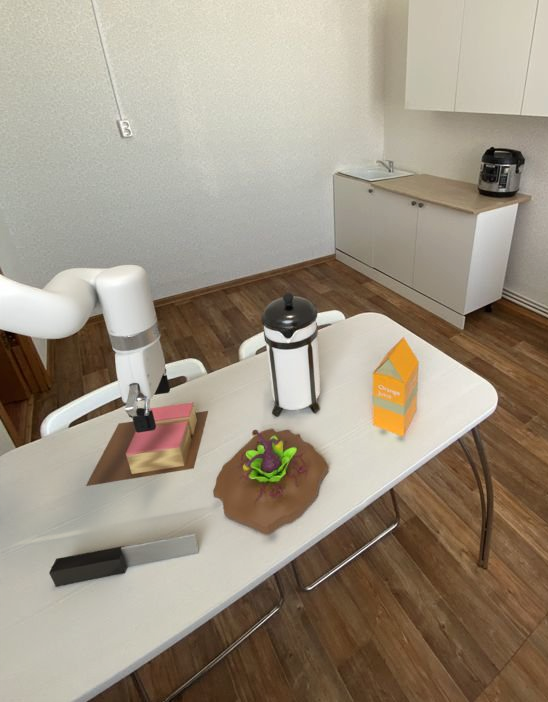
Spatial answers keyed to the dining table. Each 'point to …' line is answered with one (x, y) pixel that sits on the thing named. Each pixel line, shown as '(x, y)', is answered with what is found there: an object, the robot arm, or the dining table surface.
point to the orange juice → (395, 389)
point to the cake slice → (176, 415)
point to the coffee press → (292, 353)
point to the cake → (149, 451)
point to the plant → (270, 480)
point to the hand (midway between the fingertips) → (154, 410)
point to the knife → (119, 559)
